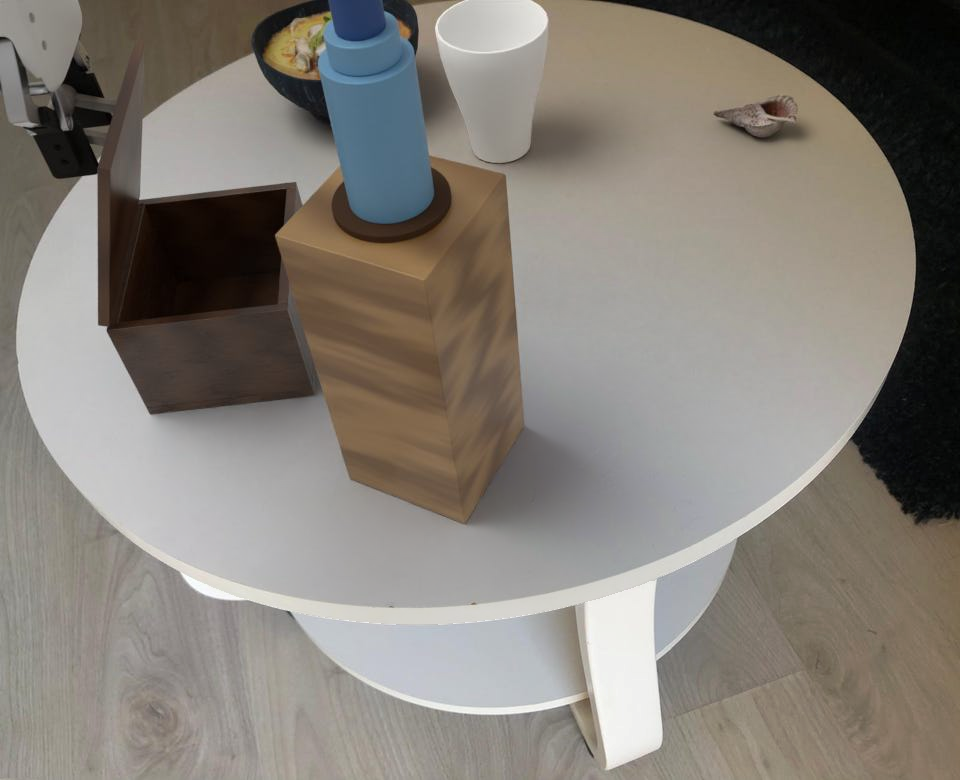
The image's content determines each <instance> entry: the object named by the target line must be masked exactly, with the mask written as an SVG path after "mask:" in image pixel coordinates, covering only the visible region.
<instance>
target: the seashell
mask: <svg viewBox="0 0 960 780" xmlns="http://www.w3.org/2000/svg"><path fill="white" fill-rule="evenodd" d="M798 107H799V106H798V104H797V102H795V101H794V98H793V96H790V95H789V94H782V95H780V94H776V95H774V96H770V97H768V98H765V99H762V100H759V101H757V102H755V103H749V104H745V105H744V106H743V107H739V106H738V107H735V108H731V109H730V108H729V109H724V110H715V111H713V116H715V117H716V118H720V119H724V120H727V121H728V122H730V123H731V124H735V126H737V127H739V128H744V129H745V130H746V132H747V133H749V134H750V135H752V136H754V137H757V138H768V137H771V136H772V135H774V134H776V133H777V132H778V131H780V129H781V128H782V126H783V125H784V124H785V123H788V124H789V123H790V124H792V125H796V121H797V116H796V115H797V114H798V111H799V108H798Z"/></svg>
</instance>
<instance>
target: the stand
mask: <svg viewBox="0 0 960 780" xmlns="http://www.w3.org/2000/svg"><path fill="white" fill-rule="evenodd" d="M429 159H430V166H431V167H432V168H434V169H436V170H437V171H439V172H440V173H441V174H442V175H443V176H444V177H445V178H446V180H447V181H448V183H449V186H450V189H451V197H452V199H451V205H450V208H449V211H448V213H447V214H446V216H445V217H444V218H443V219H442V221H441V222H440V223H439V224H437V225H436V226H435V227H434V228H432V229H431V230H429V231H427V232H426V233H424V234H422V235H419V236H417V237H414V238H411V239H408V240H404V241H399V242H392V243H375V242H368V241H363V240H360V239H357V238H354V237H352V236H350V235H348V234H347V233H345V232H344V231H343V230H342V229H341V228H340V227H339V226H338V225H337V223H336V221H335V219H334V216H333V212H332V198H333V196H334V193H335V191H336V190H337V188H338V187H339V186H340V184H341V183H342V182H343V181H344V179H343V175H342V170H341V166H340V165H339V166H338V167H337V168H336V169H335V170H334V172H333V173H331V175H329V177H328V178H327V179H325V181H323V183H322V184H321V185H320V186H319V187H318V189H316V190H315V192H314V193H312V195H311V196H310V197H309V198H308V199H307V200H306V201H305V202H304V203H303V204H302V205H303V206H302V207H301V208H300V209H299V210H298V211H297V212H296V213H295V214H294V215H293V216H292V217H291V219H290V220H289V221H288V222H287V223H286V224H285V225H284V226H283V227H282V228H281V229H280V230H279V231H278V232H277V233H276V235H275V237H276V241H277V244H278V247H279V250H280V254H281V257H282V260H283V263H284V267H285V270H286V273H287V276H288V280H289V283H290V286H291V289H292V293H293V296H294V299H295V303H296V306H297V309H298V312H299V316H300V319H301V322H302V325H303V329H304V332H305V335H306V338H307V342H308V345H309V348H310V351H311V355H312V358H313V361H314V365H315V372H316V375H317V378H318V380H319V384H320V387H321V390H322V394H323V397H324V400H325V404H326V407H327V410H328V414H329V416H330V420H331V424H332V426H333V431H334V433H335V436H336V440H337V443H338V446H339V449H340V452H341V456H342V459H343V462H344V465H345V469H346V472H347V476H348V478H349V479H350V480H352V481H355V482H357V483H360V484H362V485H365V486H367V487H370V488H372V489H375V490H378V491H379V492H381V493H382V492H383V493H385V494H388V495H390V496H393V497H395V498H398V499H400V500H403V501H405V502H408V503H411V504H413V505H415V506H418V507H421V508H423V509H425V510H428V511H431V512H433V513H436V514H439V515H441V516H443V517H445V518H448V519H451V520H454V521H456V522H459V523H461V524H463V525H466V524H467V521H468V520H469V518H470V517H471V515H472V514H473V511H474V510H475V508H476V507H477V505H478V504H479V502H480V500H481V498H482V496H484V493H485V492H486V490H487V488H488V487H489V485H490V484H491V482H492V480H493V478H494V477H495V475H496V474H497V472H498V470H499V469H500V467H501V465H502V464H503V462H504V461H505V459H506V457H507V456H508V454H509V452H510V451H511V449H512V447H513V445H514V444H515V442H516V440H517V439H518V437H519V436H520V434H521V432H522V431H523V429H524V427H525V414H524V401H523V388H522V374H521V373H522V372H521V360H520V359H521V358H520V348H519V332H518V320H517V307H516V306H517V305H516V295H515V294H516V292H515V279H514V267H513V266H514V265H513V253H512V251H513V250H512V239H511V227H510V226H511V225H510V211H509V199H508V197H509V196H508V186H507V175H506V173H502V172H498V171H494V170H490V169H487V168H482V167H478V166H474V165H471V164H466V163H462V162H459V161H454V160H450V159H447V158H443V157H438V156H434V155H430V154H429Z"/></svg>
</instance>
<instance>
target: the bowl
mask: <svg viewBox="0 0 960 780" xmlns="http://www.w3.org/2000/svg"><path fill="white" fill-rule="evenodd" d="M382 2H383V8H384V11H385V12H387V13H389V14H391V15H393V16H394V17H395V18H396V20H397V22H398V26H399V32H400V36H401V37H403V38H405V39H406V40H408V41H409V42H410V44H411V45H412V46H413V49H414V54H415V58H416V57H417V52H418V47H419V36H420V35H419V34H420V29H419V20H418V14H417V11H416V9H415V8H414V6H413V5H412V4H411V3H410V2H409V1H408V0H382ZM331 20H332V16H331V11H330V6H329V1H328V0H308V1H305V2H301V3H297V4H295V5H291V6H289V7H286V8H283V9H281V10H278V11H275V12H274V13H272V14H270V15H269V16H266V17H265V18H264V19H263V20H261V21H260V22H259V23H258V24H257V25H256V27H255V28H254V30H253V32H252V35H251V41H250V42H251V47H252V50H253V53H254V56H255V59H256V62H257V64H258V67H259V69H260V71H261V73H262V75H263V77H264V78H265V79H266V81H267V82H268V83H269V85H271V87H272V88H274V90H275V91H276V92H277V93H279V95H280V96H282V97H283V98H284V99H286V100H287V101H289V102H290V103H292V104H293V105H295V106H297V107H299V108H301V109H302V110H305V111H307V112H309V113H311V115H313V117H314V118H315V119H316V120H318V121H319V122H321V123H324V124H327V125H331V122H330V117H329V113H328V108H327V104H326V100H325V95H324V91H323V86H322V82H321V77H320V73H319V69H318V60H319V57H320V55H321V53H322V52H323V51H324V50H325V49H326V46H325V41H324V36H323V33H324V29H325V27H326V25H327V24H328V23H329V22H330V21H331Z"/></svg>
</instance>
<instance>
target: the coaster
mask: <svg viewBox="0 0 960 780" xmlns="http://www.w3.org/2000/svg"><path fill="white" fill-rule="evenodd" d="M431 173H432V180H433V187H434V197H433V200H432V202H431V203H430V205H429V206H428V207H427V208H426V210H424V211H423V212H422V213H420V214H419V215H417V216H416V217H414V218H411V219H409V220H406V221H403V222H399V223H393V224H377V223H372V222H368V221H365V220H363V219H361V218H359V217H358V216H357V215H356V214H354V212H353V211H352V210H351V208H350V205H349V201H348V197H347V192H346V188H345V184H344V181H343V182H342V183H341V184H340V186H339V187H338V188H337V190H336V191H335V193H334V196H333V198H332V212H333V216H334V219H335V221H336V223H337V225H338V226H339V227H340V228H341V229H342V230H343V231H344V232H345V233H347V234H348V235H350V236H352V237H354V238H357V239H360V240H363V241H368V242H375V243H392V242H399V241H404V240H408V239H411V238H414V237H417V236H419V235H422V234H424V233H426V232H427V231H429V230H431V229H432V228H434V227H435V226H436V225H437V224H439V223H440V222H441V221H442V219H443V218H444V217H445V216H446V214H447V213H448V211H449V208H450V205H451V199H452V197H451V189H450V186H449V183H448V181H447V180H446V178H445V177H444V176H443V175H442V174H441V173H440V172H439V171H437V170H436V169H434V168H432V167H431Z"/></svg>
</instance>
